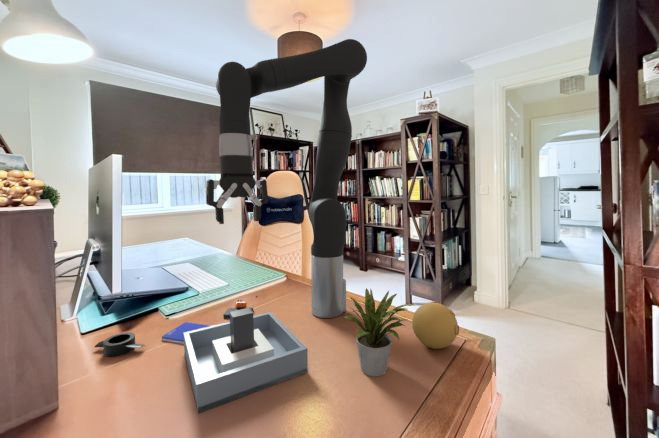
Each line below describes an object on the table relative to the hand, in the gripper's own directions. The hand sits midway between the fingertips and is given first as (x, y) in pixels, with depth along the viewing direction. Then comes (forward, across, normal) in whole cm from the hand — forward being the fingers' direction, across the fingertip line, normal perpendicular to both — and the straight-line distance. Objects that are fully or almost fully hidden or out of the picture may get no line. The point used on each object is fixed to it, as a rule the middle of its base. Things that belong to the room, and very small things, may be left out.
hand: (239, 222), depth 72 cm
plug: (+27, +4, +14) cm, 30 cm away
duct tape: (+28, +26, -6) cm, 39 cm away
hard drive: (+29, +11, -4) cm, 31 cm away
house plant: (+28, -16, +31) cm, 45 cm away
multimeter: (+29, -3, -17) cm, 33 cm away
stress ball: (+28, -34, +31) cm, 54 cm away
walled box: (+28, +4, +14) cm, 31 cm away
